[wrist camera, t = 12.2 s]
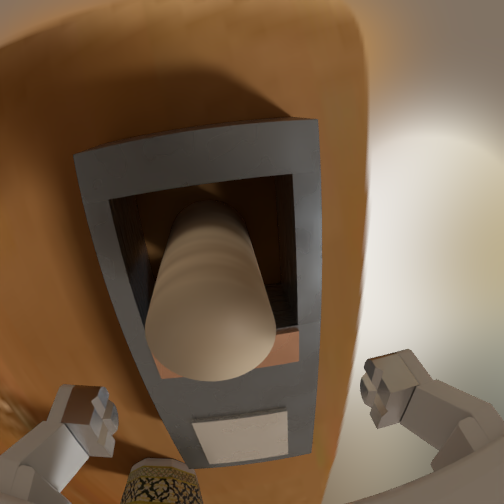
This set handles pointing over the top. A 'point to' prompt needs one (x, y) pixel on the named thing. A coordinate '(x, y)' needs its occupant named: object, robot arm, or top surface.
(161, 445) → the top surface
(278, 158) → the grey slotted box
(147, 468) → the ceramic cup
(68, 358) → the top surface
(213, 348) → the peg
